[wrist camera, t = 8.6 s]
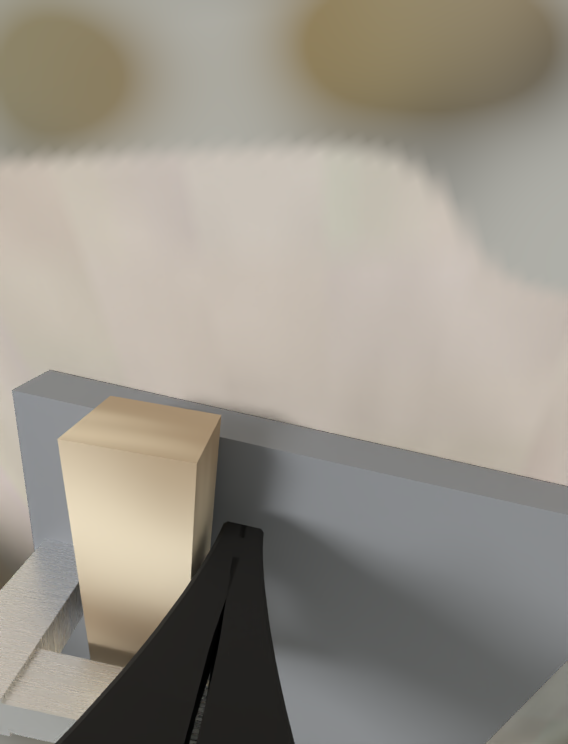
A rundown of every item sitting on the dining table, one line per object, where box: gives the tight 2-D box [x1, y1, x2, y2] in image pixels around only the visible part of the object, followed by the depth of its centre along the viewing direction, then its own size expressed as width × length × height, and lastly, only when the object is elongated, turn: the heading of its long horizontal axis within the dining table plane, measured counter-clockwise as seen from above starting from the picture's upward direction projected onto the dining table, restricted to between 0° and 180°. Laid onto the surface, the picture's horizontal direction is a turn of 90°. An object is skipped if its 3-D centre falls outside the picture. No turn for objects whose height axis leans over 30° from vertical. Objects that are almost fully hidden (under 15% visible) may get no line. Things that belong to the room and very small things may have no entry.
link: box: [57, 396, 221, 686], centre depth 11 cm, size 16×4×4 cm, turn 172°
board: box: [12, 370, 568, 744], centre depth 14 cm, size 20×20×2 cm
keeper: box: [0, 538, 208, 744], centre depth 11 cm, size 8×2×4 cm, turn 78°
